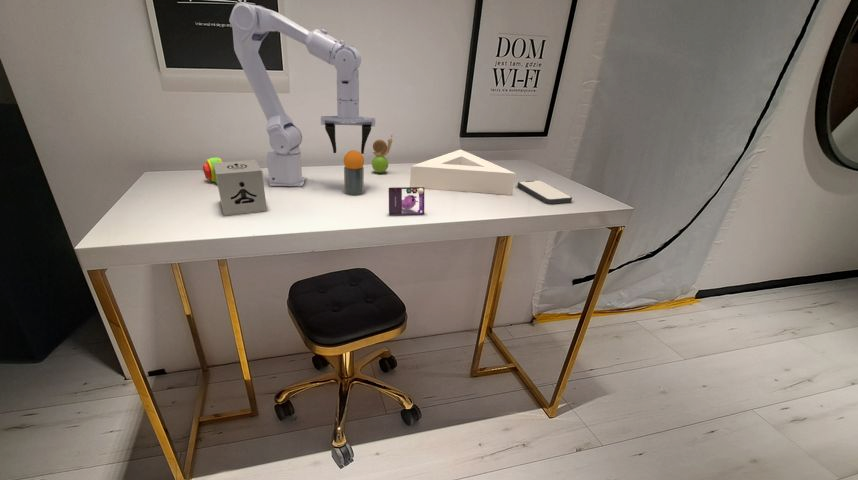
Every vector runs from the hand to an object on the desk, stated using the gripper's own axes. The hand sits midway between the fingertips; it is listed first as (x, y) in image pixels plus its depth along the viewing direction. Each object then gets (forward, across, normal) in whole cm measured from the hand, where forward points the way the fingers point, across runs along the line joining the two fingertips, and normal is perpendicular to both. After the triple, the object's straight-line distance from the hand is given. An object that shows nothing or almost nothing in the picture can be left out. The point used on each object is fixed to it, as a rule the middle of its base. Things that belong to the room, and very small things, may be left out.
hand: (348, 152), depth 109 cm
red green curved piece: (+10, -41, +8) cm, 43 cm away
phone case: (+10, +58, -3) cm, 58 cm away
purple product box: (+10, +15, -19) cm, 26 cm away
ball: (+4, +2, -4) cm, 6 cm away
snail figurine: (+10, +10, +16) cm, 22 cm away
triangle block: (+10, +30, +5) cm, 32 cm away
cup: (+10, +2, -4) cm, 11 cm away
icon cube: (+10, -26, -16) cm, 33 cm away
